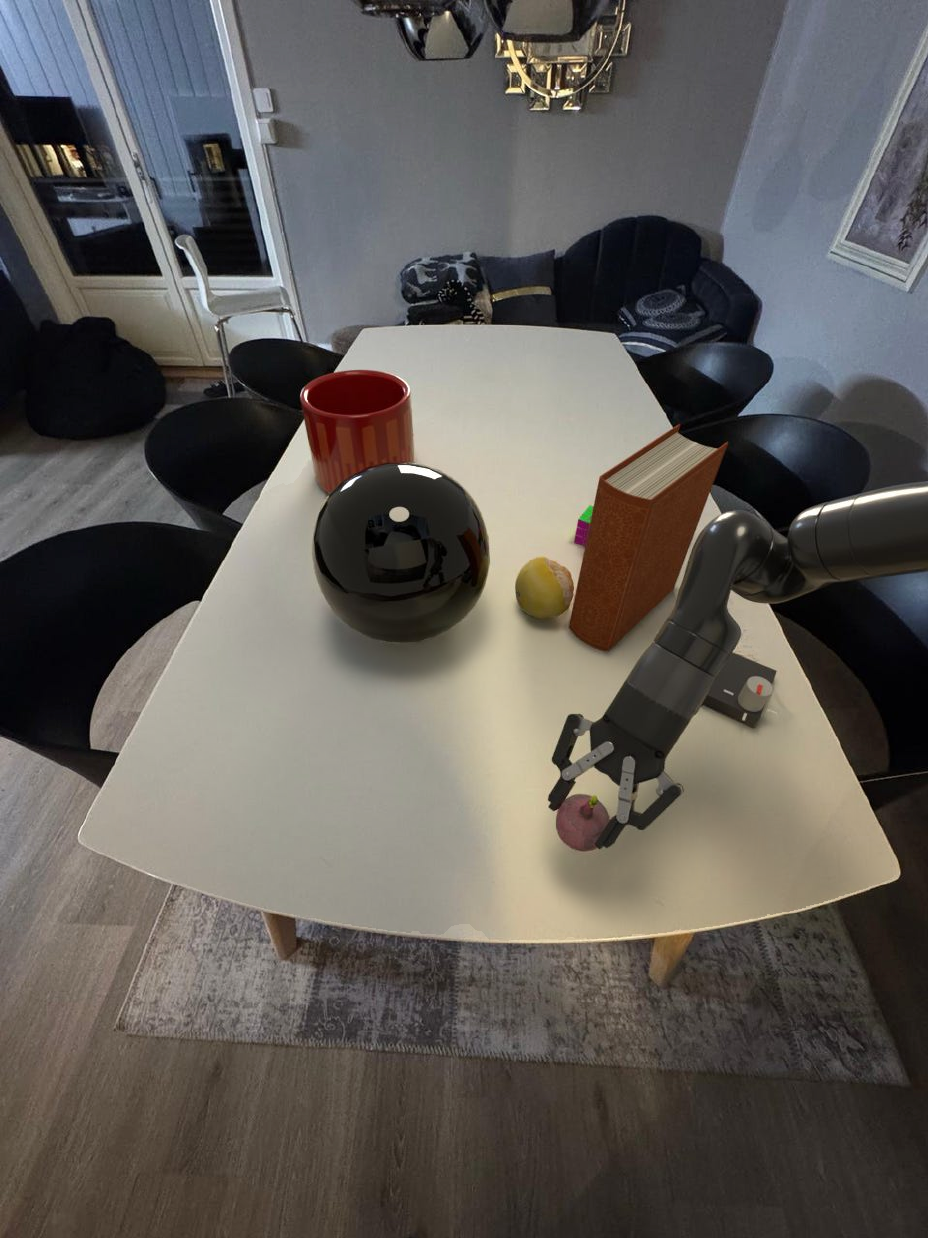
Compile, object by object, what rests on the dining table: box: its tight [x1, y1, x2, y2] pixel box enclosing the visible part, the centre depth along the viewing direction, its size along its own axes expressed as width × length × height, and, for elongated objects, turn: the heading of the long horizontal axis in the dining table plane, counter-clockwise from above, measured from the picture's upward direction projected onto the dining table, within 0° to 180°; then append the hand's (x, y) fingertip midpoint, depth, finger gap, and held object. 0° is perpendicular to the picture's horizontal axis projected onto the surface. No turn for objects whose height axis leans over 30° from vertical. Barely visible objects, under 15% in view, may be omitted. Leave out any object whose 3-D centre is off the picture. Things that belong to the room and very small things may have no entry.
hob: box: [701, 651, 778, 729], centre depth 89 cm, size 18×13×3 cm
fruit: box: [514, 556, 575, 619], centre depth 99 cm, size 10×11×10 cm
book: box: [568, 423, 729, 653], centre depth 92 cm, size 23×8×30 cm, turn 136°
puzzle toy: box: [573, 504, 594, 547], centre depth 115 cm, size 6×6×6 cm
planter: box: [299, 369, 416, 494], centre depth 126 cm, size 23×23×20 cm
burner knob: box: [738, 676, 774, 712], centre depth 84 cm, size 4×4×4 cm
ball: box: [311, 462, 491, 644], centre depth 91 cm, size 28×28×28 cm
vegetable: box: [555, 793, 611, 853], centre depth 63 cm, size 6×6×10 cm
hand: (576, 826), depth 61 cm, fingers closed on vegetable, 5 cm apart
